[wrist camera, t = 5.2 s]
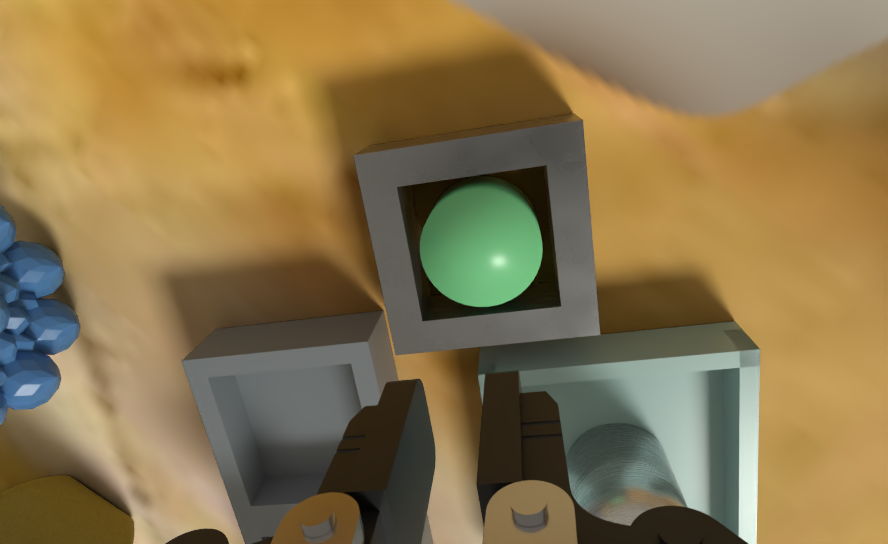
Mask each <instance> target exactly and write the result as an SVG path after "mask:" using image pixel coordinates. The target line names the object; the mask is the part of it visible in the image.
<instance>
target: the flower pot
mask: <svg viewBox="0 0 888 544" xmlns="http://www.w3.org/2000/svg"><path fill="white" fill-rule="evenodd" d="M133 540H134V521H133V520H132V518H131V517H130V516H128V515H127V514H125V513H124V512H122V511H121V510H119V509H118V508H116V507H115V506H113V505H112V504H110V503H109V502H107V501H106V500H104V499H103V498H101V497H100V496H98V495H97V494H95V493H94V492H92V491H91V490H90V489H88V488H87V487H85V486H84V485H82V484H81V483H79V482H78V481H77V480H75V479H73V478H72V477H70V476H68V475H57V476H48V477H43V478H39V479H35V480H31V481H28V482H24V483H21V484H18V485H16V486H13V487H11V488H9V489H7V490H4V491H3V492H1V493H0V544H133Z"/></svg>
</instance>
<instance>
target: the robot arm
mask: <svg viewBox="0 0 888 544" xmlns="http://www.w3.org/2000/svg"><path fill="white" fill-rule="evenodd" d="M434 470H435V443H434V437H433V432H432V427H431V422H430V417H429V412H428V407H427V401H426V396H425V391H424V387H423V384H422V381H421V380H420V379H413V380H402V381H391V382H387V383H386V384H385V387H384V389H383V392H382V394H381V397H380V400H379V402H378V405H374V406H365V407H364V408H363V409H361V410H360V411H359V412H358V413H357V414H356V415H355V416H354V417H353V418H352V419H351V420H350V421H349V423H348V426H347V428H346V430H345V432H344V434H343V440H341V441H340V443H339V446H338V448H337V453H335V455H334V457H333V459H332V461H331V464H330V466H329V468H328V470H327V473H326V475H325V477H324V479H323V481H322V484H321V486H320V488H319V490H318V493H317V495H315V496H313V497H310V498H308V499H306V500H304V501H302V502H300V503H299V504H297V505H296V506H294V507H293V508H292V509H291V510H290V511H289V512H288V513H287V514H286V515H285V516H284V517H283V519H282V520H281V522H280V524H279V526H278V528H277V530H276V533H275V535H274V536H273V537H271V538H268V539H265V540H262V541H259V542H255V543H252V544H421V542H422V536H423V531H424V525H425V520H426V514H427V509H428V503H429V498H430V492H431V487H432V481H433V476H434ZM477 489H478V495H479V501H480V506H481V512H482V518H483V523H484V534H483V544H748V543H747V542H746V541H744V540H743V539H742V538H740V537H739V536H737V535H736V534H735V533H733V532H732V531H731V530H729V529H728V528H726V527H725V526H724V525H722V524H721V523H720V522H718V521H717V520H715V519H714V518H712V517H711V516H709V515H707V514H705V513H703V512H701V511H698V510H695V509H692V508H687V507H683V506H660V507H656V508H652V509H649V510H647V511H645V512H643V513H642V514H640V515H639V516H638V517H637V518H636V519H635V520H634V521H633V522H632V524H631V526H629V525H624V524H619V523H614V522H610V521H606V520H603V519H601V518H598V517H596V516H594V515H592V514H590V513H589V512H587V511H586V510H585V509H583V508H582V507H581V506H580V505H579V504H578V503H577V501H576V500H575V499H574V497H573V495H572V492H571V489H570V483H569V476H568V469H567V462H566V455H565V449H564V442H563V436H562V428H561V422H560V415H559V408H558V404H557V402H556V401H555V400H554V399H553V398H552V397H551V396H550V395H549V394H548V393H547V392H546V391H539V392H528V393H522V388H521V380H520V374H519V370H512V371H501V372H490V373H485V380H484V393H483V406H482V420H481V433H480V446H479V460H478V473H477ZM166 544H229V542H228V540H227V538H226V536H225V535H224V534H223V533H222V532H220V531H218V530H215V529H198V530H194V531H190V532H187V533H185V534H182V535H180V536H178V537H176V538H174V539H172V540H170V541H169V542H167V543H166Z"/></svg>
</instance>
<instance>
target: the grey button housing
mask: <svg viewBox="0 0 888 544" xmlns="http://www.w3.org/2000/svg"><path fill="white" fill-rule="evenodd" d="M353 156H354V161H355V166H356V170H357V175H358V180H359V185H360V189H361V194H362V199H363V203H364V208H365V213H366V218H367V222H368V227H369V232H370V236H371V241H372V246H373V251H374V255H375V260H376V265H377V269H378V274H379V279H380V284H381V288H382V293H383V298H384V302H385V307H386V312H387V316H388V321H389V326H390V331H391V335H392V340H393V345H394V349H395V354H396V355H402V354H412V353H423V352H433V351H443V350H453V349H463V348H473V347H483V346H493V345H503V344H514V343H524V342H534V341H544V340H554V339H564V338H574V337H584V336H595V335H600V326H599V314H598V301H597V289H596V277H595V264H594V252H593V240H592V228H591V215H590V203H589V191H588V178H587V166H586V154H585V141H584V129H583V120H582V119H581V118H579V117H578V116H577V115H575V114H568V115H561V116H555V117H549V118H542V119H536V120H529V121H523V122H517V123H510V124H504V125H498V126H491V127H485V128H478V129H472V130H466V131H459V132H453V133H447V134H440V135H434V136H427V137H421V138H415V139H408V140H402V141H396V142H389V143H383V144H376V145H370V146H368V147H367V148H365V149H363V150H362V151H360V152H358V153H357V154H355V155H353ZM538 166H543V168H544V177H545V186H546V196H547V205H548V215H549V224H550V234H551V243H552V253H553V262H554V272H555V282H546V283H537V284H530V285H529V286H528V287H527V288H526V289H525V290H524V291H523V292H522V293H521V294H519V295H518V296H517V297H515V298H513V299H512V300H510V301H507V302H505V303H502V304H499V305H495V306H489V307H475V306H469V305H464V304H461V303H458V302H456V301H454V300H452V299H450V298H448V297H447V296H445V295H444V294H441V295H432V296H431V293H430V288H429V282H428V277H427V274H426V273H425V270H424V268H423V265H422V261H421V257H420V239H421V238H420V233H419V228H418V222H417V217H416V211H415V206H414V200H413V195H412V189H411V185H414V184H421V183H428V182H435V181H442V180H448V179H455V178H462V177H469V176H476V175H483V174H490V173H497V172H504V171H511V170H518V169H525V168H532V167H538Z"/></svg>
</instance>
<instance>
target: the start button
mask: <svg viewBox="0 0 888 544" xmlns="http://www.w3.org/2000/svg"><path fill="white" fill-rule="evenodd" d="M542 252H543V248H542V239H541V233H540V228H539V223H538V218H537V215H536V212H535V209H534V207H533V205H532V203H531V201H530V200H529V198H528V197H527V196H526V195H525V194H524V193H523V192H522V191H521V190H520V189H519V188H518V187H516V186H515V185H513V184H512V183H510V182H508V181H506V180H503V179H500V178H497V177H491V176H476V177H471V178H467V179H464V180H461V181H459V182H457V183H455V184H454V185H452V186H451V187H449V188H448V189H447V190H446V191H445V192H444V193H443V194H442V195H441V196H440V197H439V199H438V200H437V202H436V204H435V205H434V207H433V209H432V211H431V213H430V215H429V217H428V219H427V221H426V223H425V225H424V228H423V231H422V234H421V239H420V257H421V261H422V265H423V268H424V270H425V273H426V274H427V276H428V278H429V280H430V281H431V282H432V284H433V285H434V286H435V287H436V288H437V289H438V290H439V291H440V292H441V293H443V294H444V295H445V296H447V297H448V298H450V299H452V300H454V301H456V302H458V303H461V304H464V305H469V306H475V307H489V306H495V305H499V304H502V303H505V302H507V301H510V300H512V299H513V298H515V297H517V296H518V295H519V294H521V293H522V292H523V291H524V290H525V289H526V288H527V287H528V286H529V285H530V284H531V282H532V281H533V280H534V278H535V276H536V274H537V272H538V270H539V267H540V264H541V260H542Z"/></svg>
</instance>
